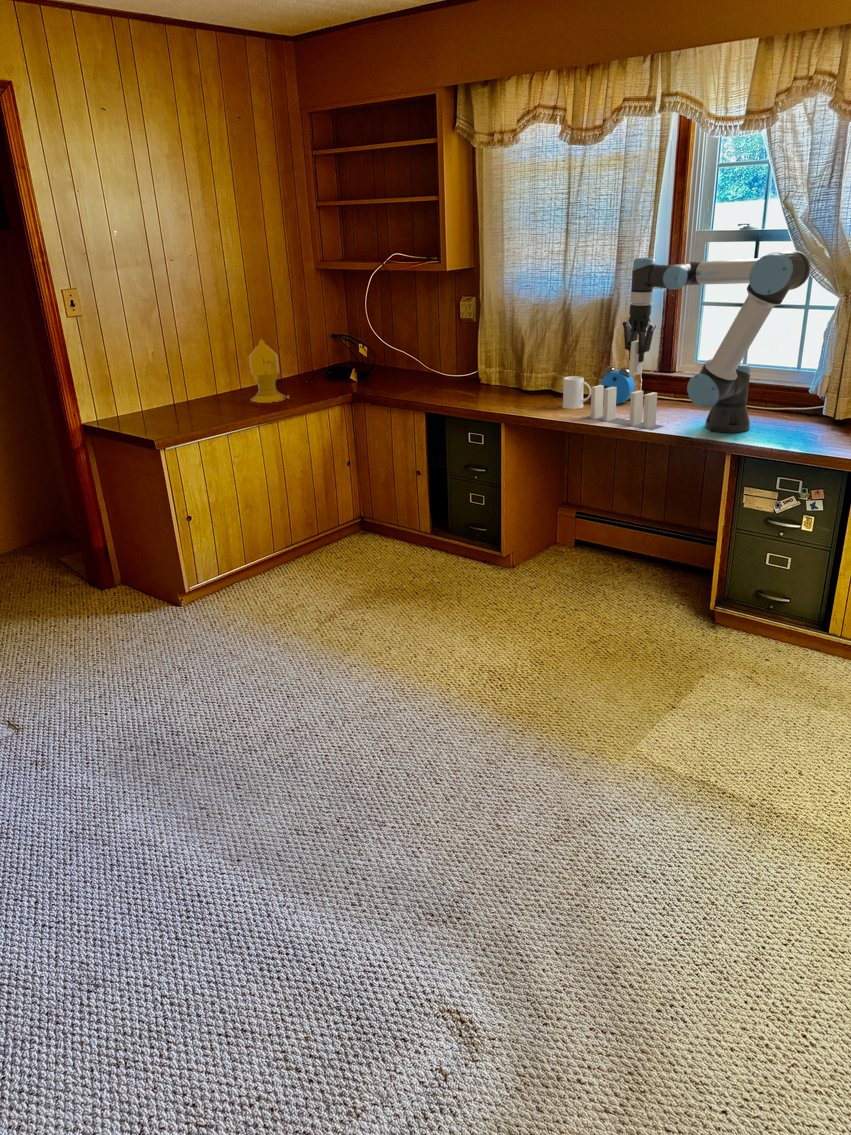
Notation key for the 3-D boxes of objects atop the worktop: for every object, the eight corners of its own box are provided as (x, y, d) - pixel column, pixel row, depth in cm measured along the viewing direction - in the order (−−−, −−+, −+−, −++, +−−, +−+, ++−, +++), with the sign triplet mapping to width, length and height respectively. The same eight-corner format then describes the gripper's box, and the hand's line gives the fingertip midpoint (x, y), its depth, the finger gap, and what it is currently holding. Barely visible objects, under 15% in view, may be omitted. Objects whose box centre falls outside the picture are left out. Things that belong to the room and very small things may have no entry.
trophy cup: (289, 395, 396) (282, 334, 385) (289, 406, 374) (281, 341, 363) (252, 398, 394) (244, 337, 383) (249, 409, 372) (240, 344, 361)
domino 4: (641, 423, 313) (643, 390, 308) (633, 425, 310) (635, 393, 305) (637, 422, 314) (639, 390, 309) (629, 425, 311) (630, 392, 306)
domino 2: (615, 418, 321) (616, 387, 316) (606, 421, 318) (608, 389, 313) (611, 417, 322) (612, 386, 318) (603, 420, 319) (604, 388, 315)
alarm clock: (634, 403, 346) (636, 366, 340) (628, 406, 341) (630, 369, 335) (604, 400, 353) (606, 364, 347) (598, 403, 348) (599, 367, 343)
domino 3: (641, 373, 310) (644, 340, 305) (632, 375, 307) (635, 342, 302) (637, 372, 311) (640, 339, 306) (628, 375, 308) (631, 341, 303)
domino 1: (602, 416, 325) (603, 385, 321) (594, 418, 322) (595, 387, 318) (598, 415, 327) (599, 384, 322) (590, 418, 324) (591, 387, 319)
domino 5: (655, 425, 309) (657, 392, 304) (647, 428, 305) (649, 395, 301) (651, 424, 310) (653, 392, 305) (642, 427, 307) (644, 394, 302)
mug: (594, 407, 343) (595, 377, 338) (584, 411, 337) (585, 381, 332) (568, 404, 350) (569, 375, 345) (558, 408, 343) (559, 379, 339)
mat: (664, 427, 307) (664, 425, 307) (652, 431, 303) (652, 430, 302) (594, 415, 330) (594, 414, 330) (581, 418, 325) (581, 417, 325)
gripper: (664, 304, 295) (658, 371, 305) (630, 301, 306) (625, 366, 315) (651, 306, 291) (645, 374, 301) (617, 303, 301) (612, 369, 311)
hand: (635, 370), depth 308 cm, fingers closed on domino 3, 2 cm apart
